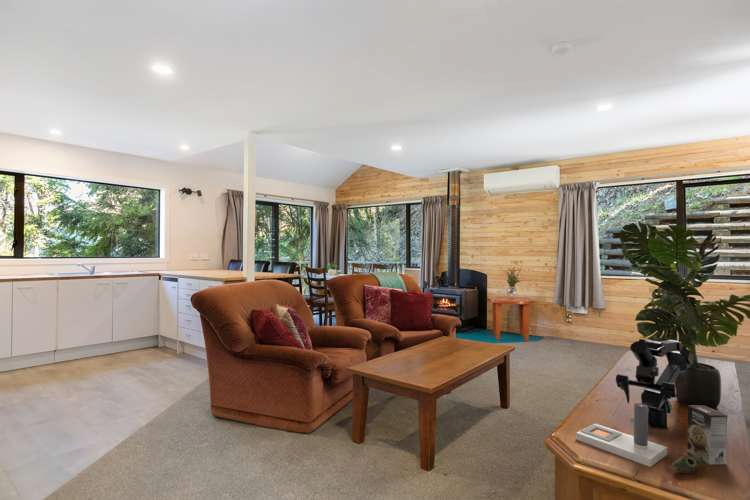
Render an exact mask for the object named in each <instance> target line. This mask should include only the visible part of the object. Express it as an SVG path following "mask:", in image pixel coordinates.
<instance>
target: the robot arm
mask: <svg viewBox="0 0 750 500" xmlns="http://www.w3.org/2000/svg"><path fill="white" fill-rule="evenodd" d="M629 347H630V349H629V350H631V352H632V354H633V355H634V358H635V359H636V360H637V361H638V365H636V367H635V368H636V369H635V380H633V379H630V377H629V375H625V374H621V373H618V374H616V375H615V382H616V387H618V388H620V390H623V392H624V394H625V396H626V398H625V399H626V403H627V404H628V405H629V404H630V400H631V399H630V386H634V387H639V388H644V389H643V391H642V392H641V395H640V399H641V404H645V405H647V406H648V427H651V428H658V429H659V428H660V429H669V426H668V414H672V407H673V406H672V404H671V401H669V400H671V399H672V398H677V388H676V384H675V382H676V380H677V378H678V376H679V375H680V374H681V372H685V371H687V370H689V368H690V367H691V366H692V365H693V363H694V357H693V355H692V352H691V351H690V350H689V349H688V348H687V347H686V346H684V343H683V342H682V341H680V340H674V339H667V340H660V341H656V340H652V339H651V340H650V339H642V338H639V339H638V340H636V341H633V342H632V343H631V344H630V346H629ZM657 357H659V358H663V357H666V360H667V363H668V364H667V365H666V367H665V369H664V370H663V371H662V372H661V374H660V373H659V372H660V371H659V370H660V369H659V366H658V358H657ZM659 374H660V376H659ZM656 377H657V378H658V377H659V378H658V379H657V380H656Z"/></svg>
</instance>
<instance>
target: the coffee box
mask: <svg viewBox="0 0 750 500" xmlns="http://www.w3.org/2000/svg"><path fill="white" fill-rule="evenodd" d="M686 439H687V444H686V445H687V446H686V450H687V451H686V452H687V453H689V454H690V455H691V456H699V457H702V458H703V461H702V462H705V463H706V464H707V465H711V466H713V465H727V445H728V444H727V443H728V442H727V441H728V414H725V413H722V412H720V411H718V410H716V409H713V408H712V407H709V406H707V405H703V404H702V405H700V404H691V405H687V437H686Z"/></svg>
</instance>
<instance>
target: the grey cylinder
mask: <svg viewBox="0 0 750 500" xmlns="http://www.w3.org/2000/svg"><path fill="white" fill-rule="evenodd" d="M633 406H634V407H633V436H634V446H635V447H637V448H639V449H647V448H648V441H649V440H648V438H649V435H648V434H649V425H648V406H647V405H645V404H642V402H635V403H634V404H633Z"/></svg>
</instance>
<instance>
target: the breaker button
mask: <svg viewBox="0 0 750 500" xmlns="http://www.w3.org/2000/svg"><path fill="white" fill-rule="evenodd" d="M592 433H594V434H597V435H600V436H603V437H607V436H609V435H611V434H609V433H606V432H603V431H600V430H598V429H597V430H595V431H593V432H592Z"/></svg>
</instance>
